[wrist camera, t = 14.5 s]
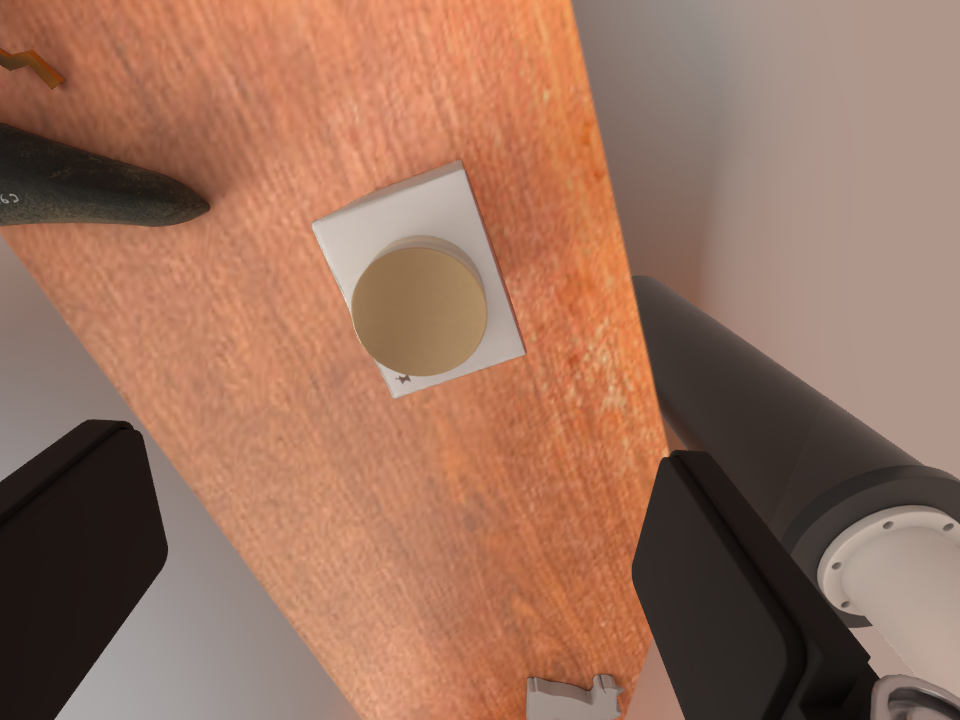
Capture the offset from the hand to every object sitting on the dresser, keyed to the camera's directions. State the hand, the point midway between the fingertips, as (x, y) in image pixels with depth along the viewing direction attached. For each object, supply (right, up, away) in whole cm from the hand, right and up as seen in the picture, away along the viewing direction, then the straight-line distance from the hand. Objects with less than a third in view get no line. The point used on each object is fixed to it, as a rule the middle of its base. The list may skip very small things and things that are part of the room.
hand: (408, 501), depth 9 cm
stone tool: (-22, +13, +16) cm, 30 cm away
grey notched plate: (+6, -32, +41) cm, 53 cm away
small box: (-1, +11, +22) cm, 25 cm away
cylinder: (-1, +5, +10) cm, 12 cm away
